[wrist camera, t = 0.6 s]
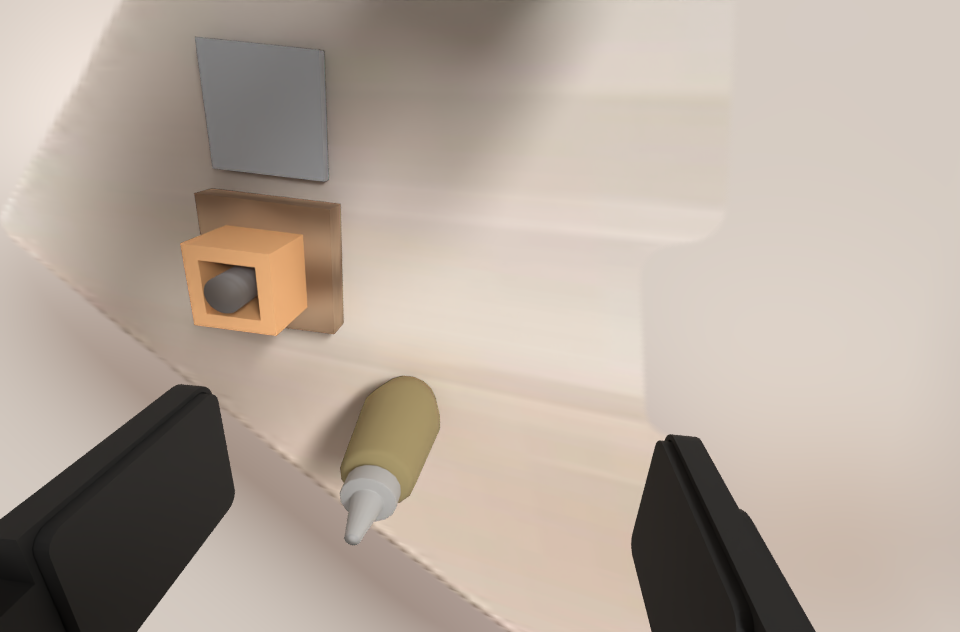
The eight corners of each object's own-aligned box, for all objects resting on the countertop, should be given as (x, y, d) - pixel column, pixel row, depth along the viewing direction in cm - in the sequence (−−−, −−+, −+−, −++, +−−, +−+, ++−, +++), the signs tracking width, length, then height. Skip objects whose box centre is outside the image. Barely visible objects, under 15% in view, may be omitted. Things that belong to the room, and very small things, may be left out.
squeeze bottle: (396, 351, 48) (329, 479, 32) (460, 393, 49) (428, 536, 33) (358, 402, 51) (279, 542, 35) (420, 440, 53) (372, 592, 36)
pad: (202, 38, 38) (194, 36, 37) (324, 51, 37) (319, 49, 36) (219, 167, 42) (212, 168, 41) (328, 179, 41) (324, 181, 41)
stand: (211, 188, 43) (132, 209, 34) (340, 203, 42) (292, 229, 34) (228, 308, 48) (162, 352, 39) (343, 323, 47) (302, 372, 39)
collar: (225, 225, 41) (180, 243, 36) (302, 234, 41) (268, 254, 36) (235, 297, 44) (194, 324, 39) (307, 307, 44) (276, 335, 39)
